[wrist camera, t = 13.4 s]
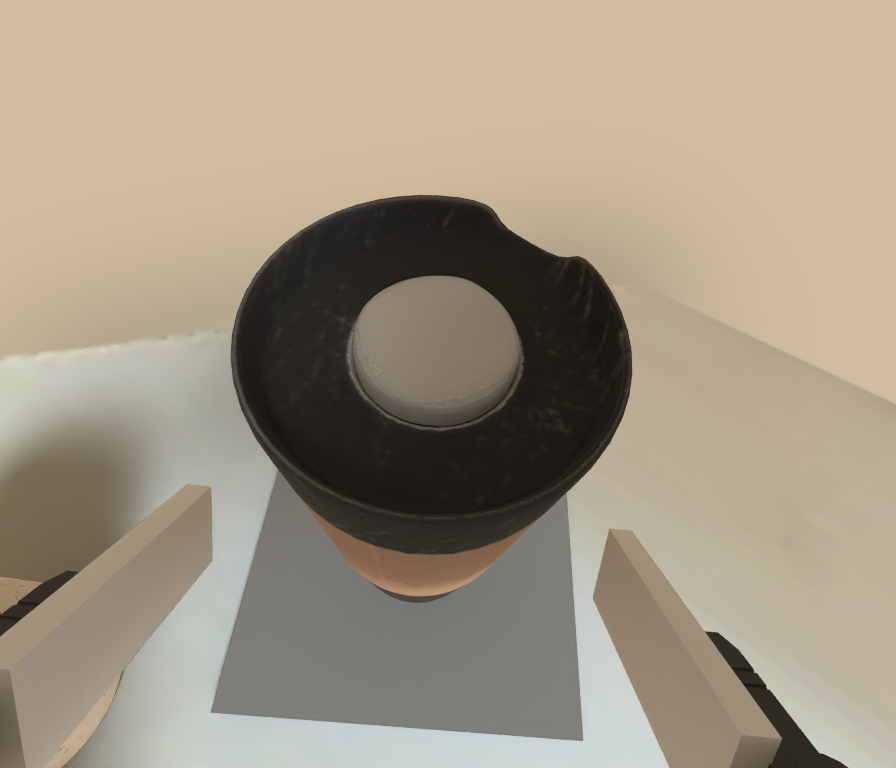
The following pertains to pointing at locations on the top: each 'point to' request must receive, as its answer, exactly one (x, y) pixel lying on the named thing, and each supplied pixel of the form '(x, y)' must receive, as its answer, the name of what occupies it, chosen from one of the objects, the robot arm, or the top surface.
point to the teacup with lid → (8, 593)
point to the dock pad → (405, 638)
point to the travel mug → (428, 383)
